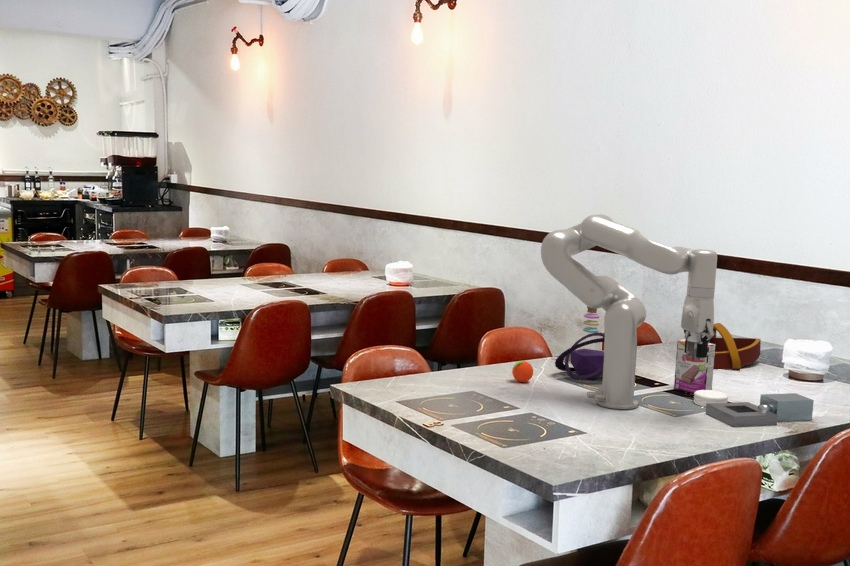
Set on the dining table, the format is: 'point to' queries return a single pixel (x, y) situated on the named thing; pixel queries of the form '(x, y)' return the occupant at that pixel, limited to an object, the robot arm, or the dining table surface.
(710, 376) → the candy bar box
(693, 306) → the robot arm
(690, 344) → the pill bottle
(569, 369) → the decorative bottle
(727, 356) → the decorative basket
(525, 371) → the clementine
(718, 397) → the white round disc
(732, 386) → the dining table surface
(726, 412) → the grey tray with housing
